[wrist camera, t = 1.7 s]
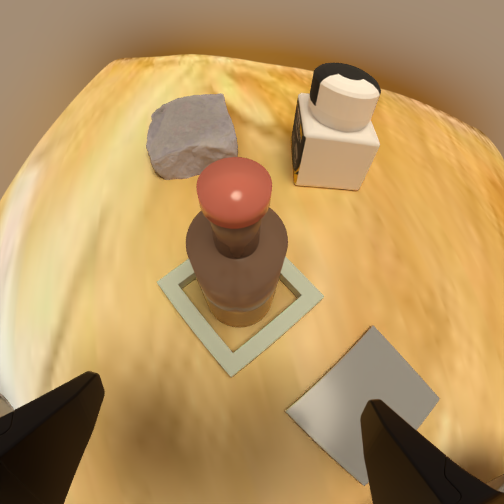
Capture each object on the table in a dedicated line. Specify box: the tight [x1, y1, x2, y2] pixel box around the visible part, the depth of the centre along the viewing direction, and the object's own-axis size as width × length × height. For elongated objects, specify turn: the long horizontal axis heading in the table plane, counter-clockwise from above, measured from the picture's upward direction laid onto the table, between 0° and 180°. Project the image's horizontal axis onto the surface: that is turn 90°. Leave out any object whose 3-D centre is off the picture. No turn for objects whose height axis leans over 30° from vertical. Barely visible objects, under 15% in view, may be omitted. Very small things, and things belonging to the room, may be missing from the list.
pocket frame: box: [157, 257, 324, 377], centre depth 23 cm, size 10×10×1 cm
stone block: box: [146, 94, 238, 180], centre depth 31 cm, size 12×5×10 cm
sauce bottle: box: [186, 157, 288, 327], centre depth 18 cm, size 5×5×14 cm
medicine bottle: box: [291, 63, 381, 191], centre depth 25 cm, size 7×7×12 cm
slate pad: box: [285, 326, 439, 486], centre depth 19 cm, size 10×10×1 cm
